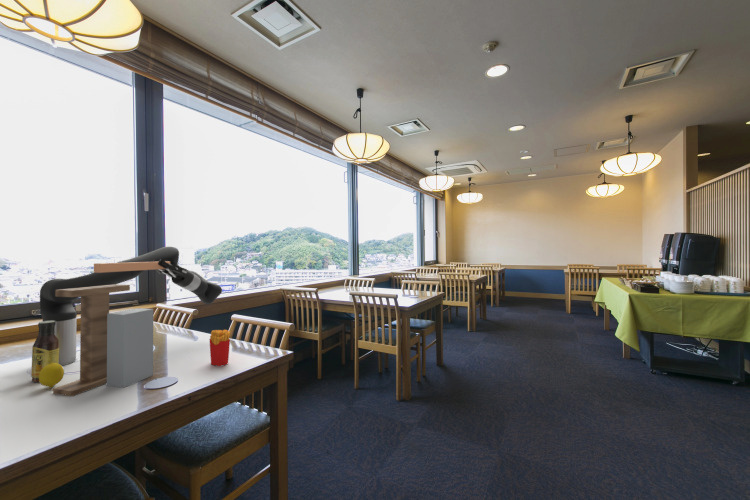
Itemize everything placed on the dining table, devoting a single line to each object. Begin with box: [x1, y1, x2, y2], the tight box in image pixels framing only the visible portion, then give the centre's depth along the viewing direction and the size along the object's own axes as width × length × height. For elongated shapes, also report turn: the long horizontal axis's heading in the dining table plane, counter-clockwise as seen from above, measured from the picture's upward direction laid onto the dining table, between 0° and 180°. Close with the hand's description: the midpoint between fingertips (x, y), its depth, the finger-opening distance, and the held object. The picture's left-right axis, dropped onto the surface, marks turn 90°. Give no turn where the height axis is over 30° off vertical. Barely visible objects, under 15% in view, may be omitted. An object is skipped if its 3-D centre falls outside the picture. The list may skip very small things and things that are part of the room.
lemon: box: [38, 362, 65, 388], centre depth 96 cm, size 6×6×8 cm
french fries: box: [209, 329, 231, 367], centre depth 117 cm, size 9×4×13 cm, turn 68°
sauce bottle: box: [30, 320, 59, 383], centre depth 102 cm, size 7×6×20 cm
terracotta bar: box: [93, 261, 170, 273], centre depth 113 cm, size 3×26×3 cm, turn 167°
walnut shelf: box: [52, 284, 131, 397], centre depth 99 cm, size 8×17×32 cm, turn 167°
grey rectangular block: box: [106, 307, 154, 388], centre depth 102 cm, size 7×10×24 cm
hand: (155, 261), depth 120 cm, fingers closed on terracotta bar, 3 cm apart
